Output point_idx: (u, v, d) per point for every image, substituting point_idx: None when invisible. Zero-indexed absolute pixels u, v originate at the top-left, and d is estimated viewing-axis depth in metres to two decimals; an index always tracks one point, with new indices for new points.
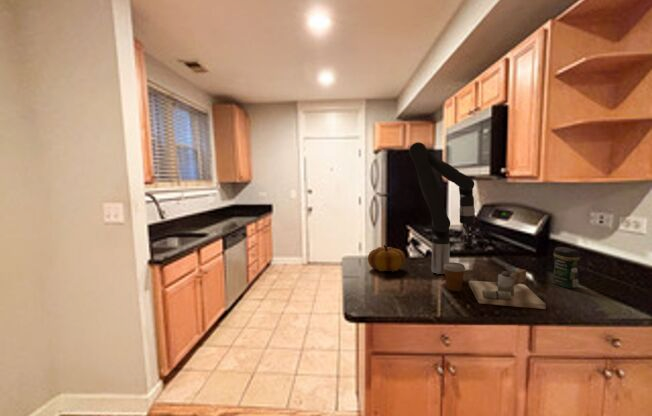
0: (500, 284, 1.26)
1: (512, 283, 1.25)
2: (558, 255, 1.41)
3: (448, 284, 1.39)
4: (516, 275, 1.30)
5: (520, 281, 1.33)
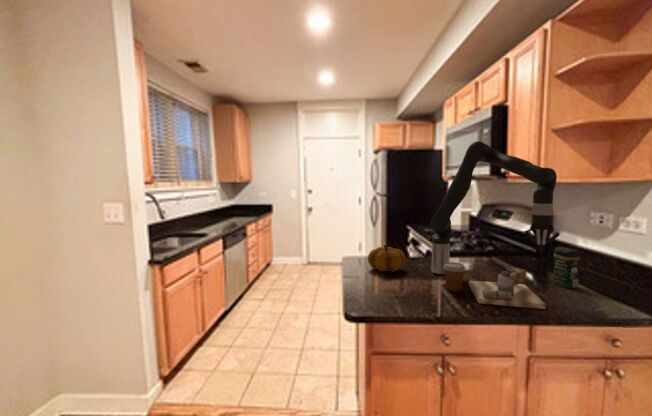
0: (500, 284, 1.26)
1: (512, 283, 1.25)
2: (558, 255, 1.41)
3: (448, 284, 1.39)
4: (516, 275, 1.30)
5: (520, 281, 1.33)
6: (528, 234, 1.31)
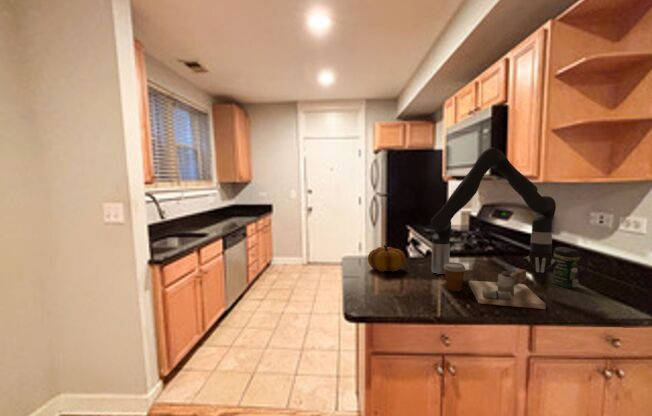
0: (500, 284, 1.26)
1: (512, 283, 1.25)
2: (558, 255, 1.41)
3: (448, 284, 1.39)
4: (516, 275, 1.30)
5: (520, 281, 1.33)
6: (527, 261, 1.32)
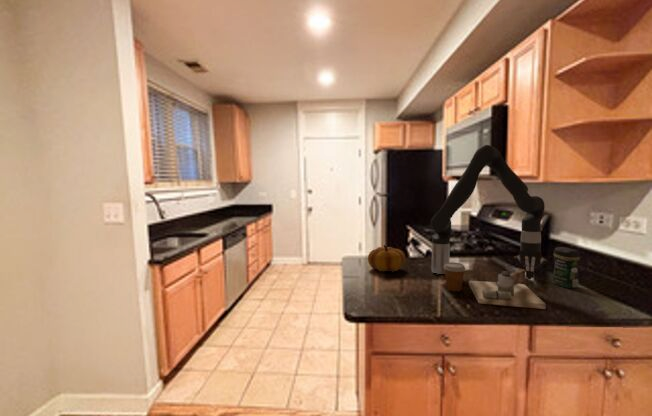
0: (500, 284, 1.26)
1: (512, 283, 1.25)
2: (558, 255, 1.41)
3: (448, 284, 1.39)
4: (516, 275, 1.30)
5: (520, 281, 1.33)
6: (517, 260, 1.34)
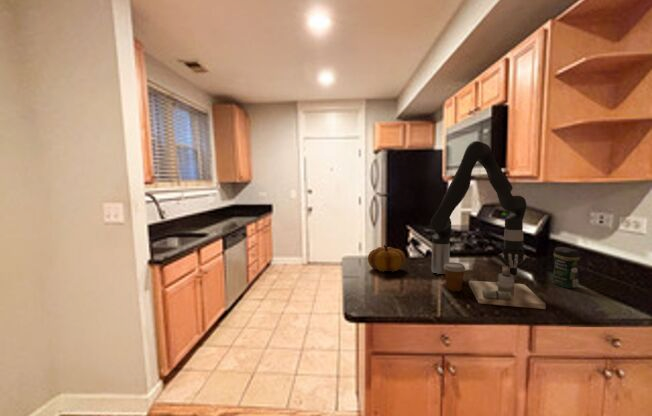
0: (504, 284, 1.25)
1: None
2: (558, 255, 1.41)
3: (448, 284, 1.39)
4: None
5: None
6: (501, 258, 1.38)
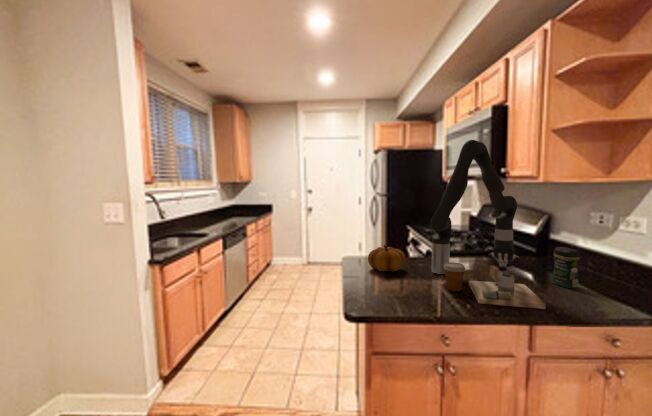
0: (506, 285, 1.25)
1: None
2: (558, 255, 1.41)
3: (448, 284, 1.39)
4: None
5: None
6: (491, 257, 1.40)
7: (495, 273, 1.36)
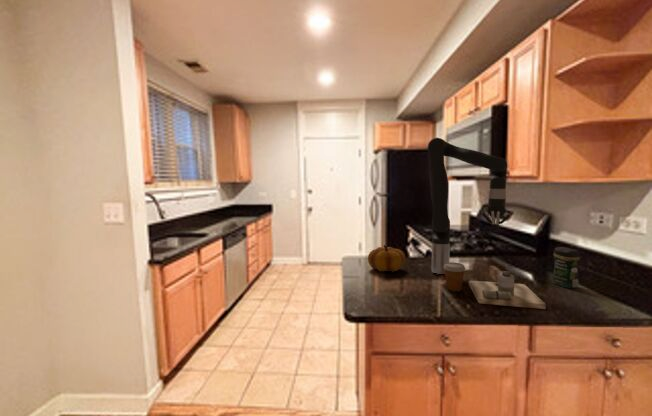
0: (506, 285, 1.25)
1: None
2: (558, 255, 1.41)
3: (448, 284, 1.39)
4: None
5: None
6: (485, 215, 1.51)
7: (495, 273, 1.36)
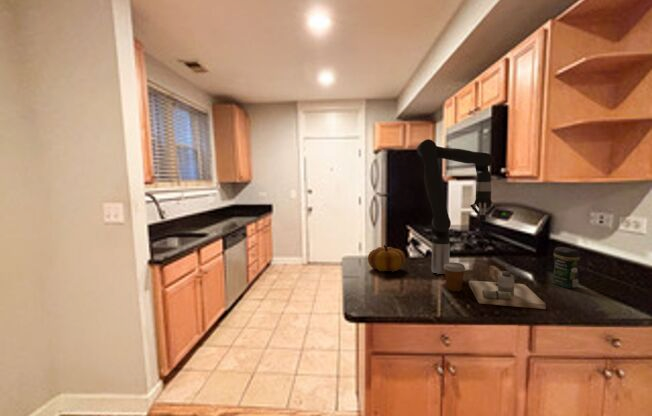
0: (506, 285, 1.25)
1: None
2: (558, 255, 1.41)
3: (448, 284, 1.39)
4: None
5: None
6: (473, 207, 1.64)
7: (495, 273, 1.36)
